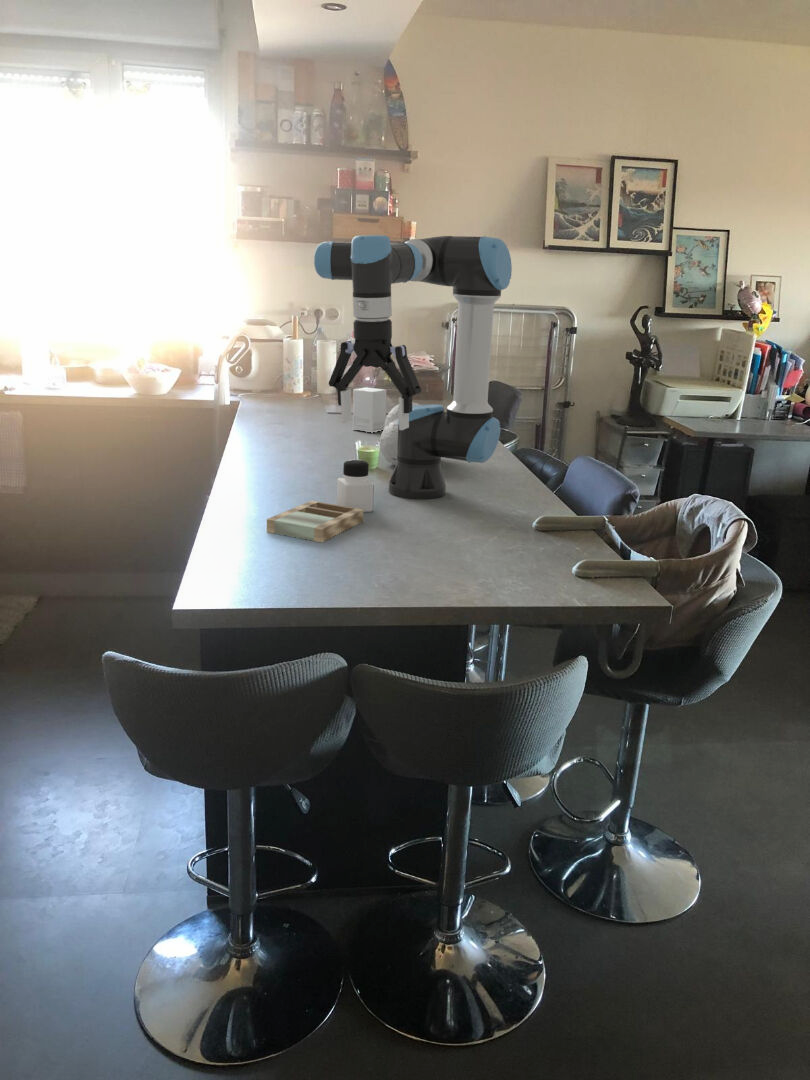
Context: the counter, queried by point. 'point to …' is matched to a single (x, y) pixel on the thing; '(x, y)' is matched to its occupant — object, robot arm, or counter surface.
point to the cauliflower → (391, 435)
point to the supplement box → (369, 408)
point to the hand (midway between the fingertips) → (374, 425)
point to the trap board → (315, 521)
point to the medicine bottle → (355, 486)
